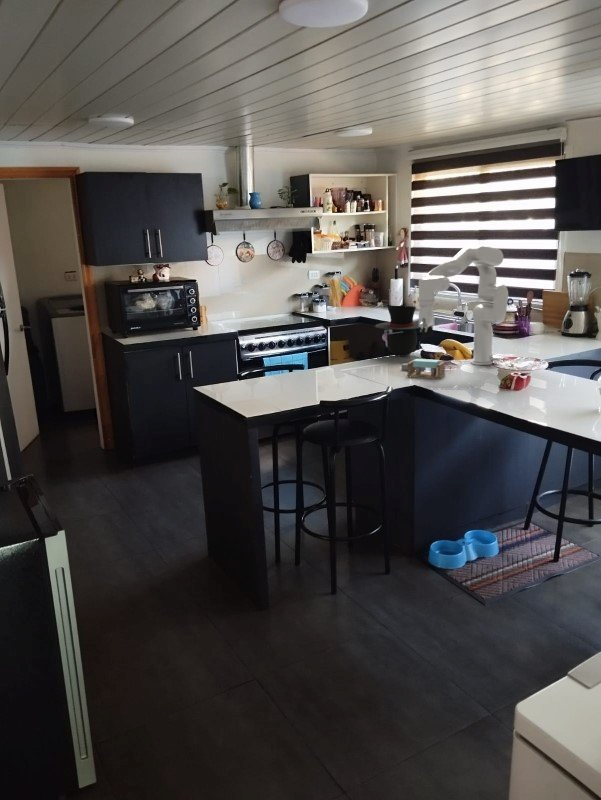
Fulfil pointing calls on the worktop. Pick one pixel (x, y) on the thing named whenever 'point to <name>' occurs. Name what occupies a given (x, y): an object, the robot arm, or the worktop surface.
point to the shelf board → (426, 363)
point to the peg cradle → (435, 372)
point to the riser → (405, 367)
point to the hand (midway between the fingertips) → (426, 337)
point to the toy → (400, 330)
